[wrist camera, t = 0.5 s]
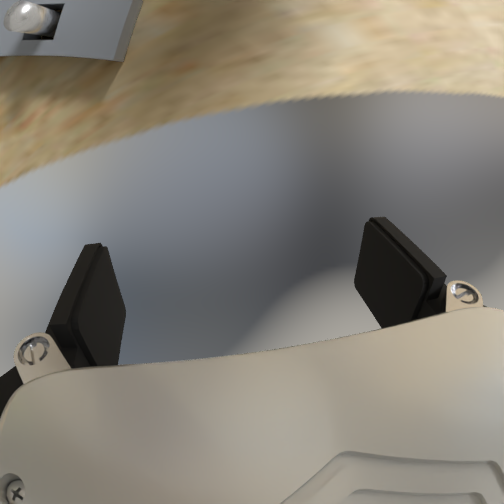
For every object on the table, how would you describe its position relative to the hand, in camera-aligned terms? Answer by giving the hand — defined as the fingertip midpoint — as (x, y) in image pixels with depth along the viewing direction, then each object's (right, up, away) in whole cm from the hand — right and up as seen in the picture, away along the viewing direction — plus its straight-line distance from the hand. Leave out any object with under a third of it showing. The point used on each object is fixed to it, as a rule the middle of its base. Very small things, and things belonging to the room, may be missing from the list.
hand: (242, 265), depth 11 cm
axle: (-23, +27, +13) cm, 38 cm away
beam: (-23, +27, +13) cm, 38 cm away
